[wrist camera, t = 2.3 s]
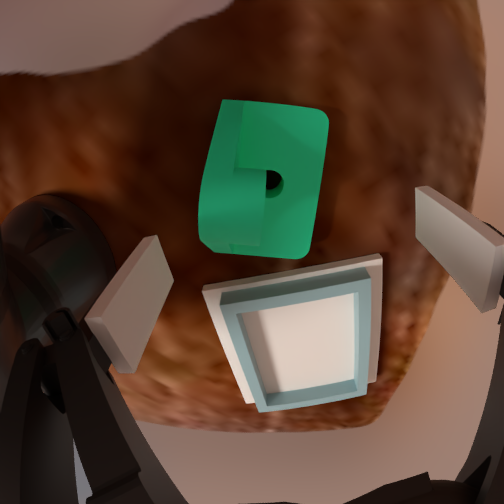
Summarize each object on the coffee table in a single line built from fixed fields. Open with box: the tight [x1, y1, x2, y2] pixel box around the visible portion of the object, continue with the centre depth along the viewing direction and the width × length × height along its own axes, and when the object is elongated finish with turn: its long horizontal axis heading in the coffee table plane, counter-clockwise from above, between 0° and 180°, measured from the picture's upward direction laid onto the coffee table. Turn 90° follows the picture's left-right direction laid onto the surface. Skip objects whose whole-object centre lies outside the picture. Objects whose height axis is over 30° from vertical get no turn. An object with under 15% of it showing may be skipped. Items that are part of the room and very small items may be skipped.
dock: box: [202, 253, 382, 412], centre depth 31 cm, size 17×18×3 cm
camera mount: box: [198, 100, 329, 259], centre depth 20 cm, size 12×8×10 cm, turn 175°
